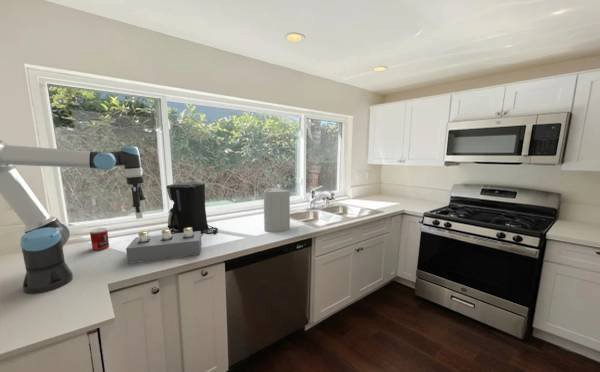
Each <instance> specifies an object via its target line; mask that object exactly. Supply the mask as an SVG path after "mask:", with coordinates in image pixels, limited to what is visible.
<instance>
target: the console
mask: <svg viewBox="0 0 600 372" xmlns="http://www.w3.org/2000/svg"><path fill="white" fill-rule="evenodd" d="M148 237H149V243H139V236H138V237H137V236H136V237H135V238H134V239H133V240H132V241H131V242H130V243H129V245H128V246H127V247H126V248H125V249H126V250H125V252H126V259H127V264H131V263H130V262H136V263H140V262H139V261H144V262H148V261H147V260H151V261H155V260H154V259H159V260H163V259H162V258H167V259H172V257H175V258H180V257H179V256H183V257H188V256H187V255H191V256H197V255H196V254H199V255H201V252H202V251H201V250H202V249H201V248H202V234H201V231H195V232H193V238H186V239H184V233H175V234H172V233H171V240H168V241H162V234H156V235H148Z"/></svg>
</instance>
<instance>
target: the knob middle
mask: <svg viewBox="0 0 600 372" xmlns="http://www.w3.org/2000/svg"><path fill="white" fill-rule="evenodd" d="M171 234H172V233H171V229H169V228H165V229H162V230H161V235H162V241H168V240H171Z"/></svg>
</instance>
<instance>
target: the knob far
mask: <svg viewBox="0 0 600 372" xmlns="http://www.w3.org/2000/svg"><path fill="white" fill-rule="evenodd" d="M186 238H193V232H192V227H186V228H184V239H186Z"/></svg>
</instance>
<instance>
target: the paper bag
mask: <svg viewBox="0 0 600 372" xmlns="http://www.w3.org/2000/svg"><path fill="white" fill-rule="evenodd" d="M290 196H291V195H290V190H289V189H283V188H282V189H281V188H275V187H267V188H265V189H264V191H263V219H264V220H263V223H264V225H263V227H264V229H263V231H264V232H266V233H274V232H275V233H277V232H287V231H289V230H290V229H291V217H290V215H291V214H290V213H291V210H290V209H291V207H290V200H291V197H290Z"/></svg>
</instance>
